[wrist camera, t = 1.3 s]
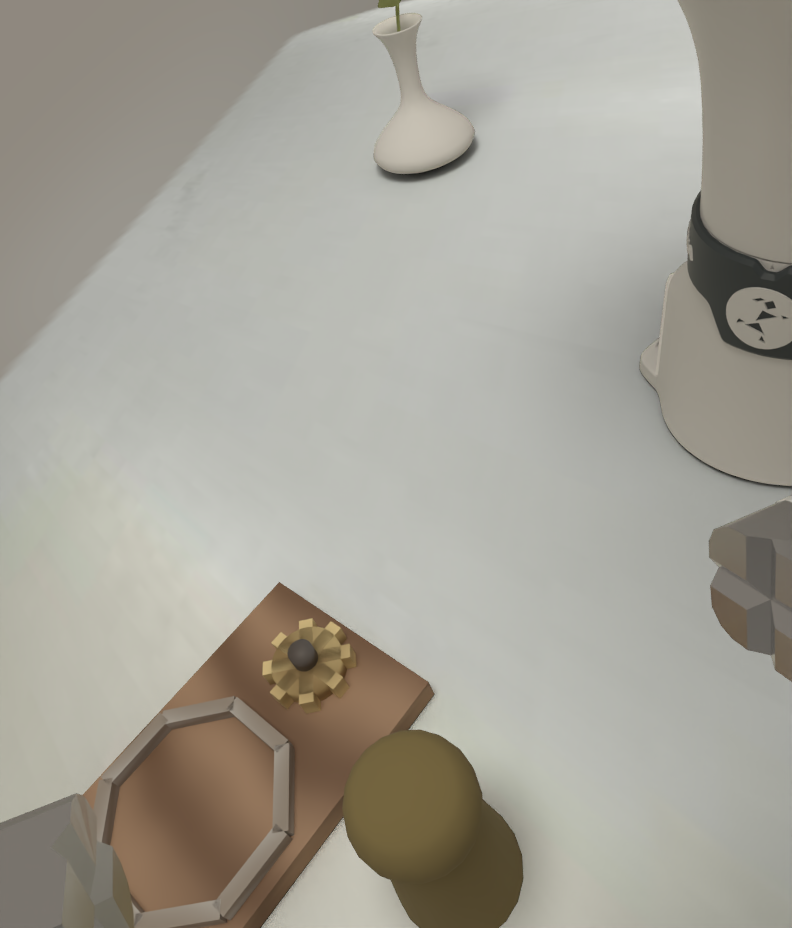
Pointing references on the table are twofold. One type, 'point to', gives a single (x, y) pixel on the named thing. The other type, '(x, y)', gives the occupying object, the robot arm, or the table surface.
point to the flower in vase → (415, 108)
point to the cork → (432, 832)
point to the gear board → (249, 766)
